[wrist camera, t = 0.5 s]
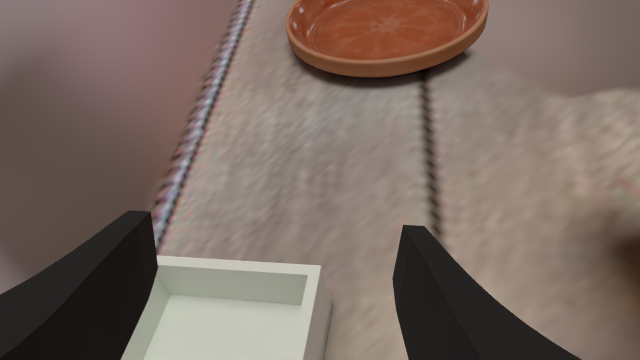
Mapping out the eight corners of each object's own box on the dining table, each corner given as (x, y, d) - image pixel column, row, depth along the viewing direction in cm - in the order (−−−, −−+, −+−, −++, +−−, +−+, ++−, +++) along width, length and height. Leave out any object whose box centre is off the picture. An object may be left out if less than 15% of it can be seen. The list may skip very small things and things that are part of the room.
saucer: (354, -19, 66) (351, -45, 64) (515, 3, 55) (520, -28, 53) (254, 66, 55) (245, 38, 52) (430, 114, 44) (431, 82, 41)
